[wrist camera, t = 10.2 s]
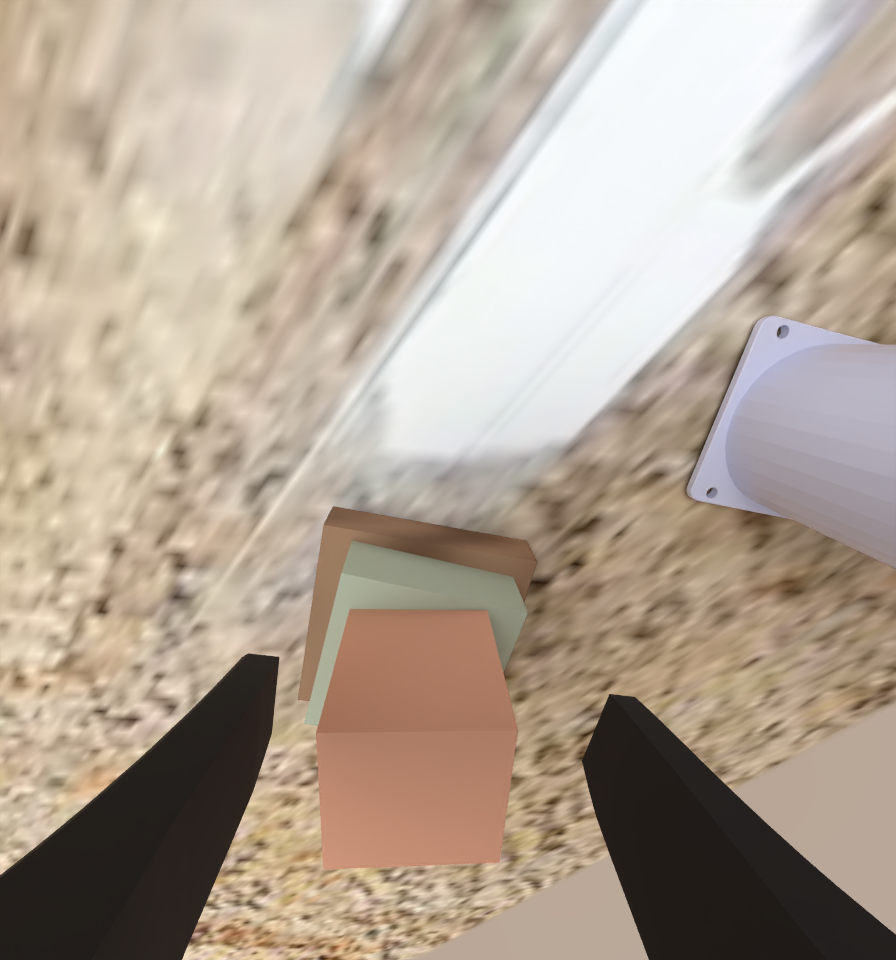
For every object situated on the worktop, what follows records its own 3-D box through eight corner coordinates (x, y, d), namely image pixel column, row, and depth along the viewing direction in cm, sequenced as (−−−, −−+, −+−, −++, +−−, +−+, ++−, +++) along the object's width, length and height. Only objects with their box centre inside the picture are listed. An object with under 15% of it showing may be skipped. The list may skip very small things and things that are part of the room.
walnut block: (523, 535, 20) (537, 561, 18) (478, 681, 23) (485, 721, 20) (335, 501, 19) (323, 525, 16) (310, 660, 21) (297, 699, 19)
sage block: (513, 576, 18) (528, 612, 15) (465, 700, 20) (471, 749, 17) (351, 540, 17) (341, 573, 14) (318, 675, 19) (304, 723, 16)
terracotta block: (487, 610, 15) (517, 730, 10) (476, 715, 17) (499, 862, 12) (349, 609, 15) (316, 732, 10) (351, 717, 16) (323, 869, 12)
